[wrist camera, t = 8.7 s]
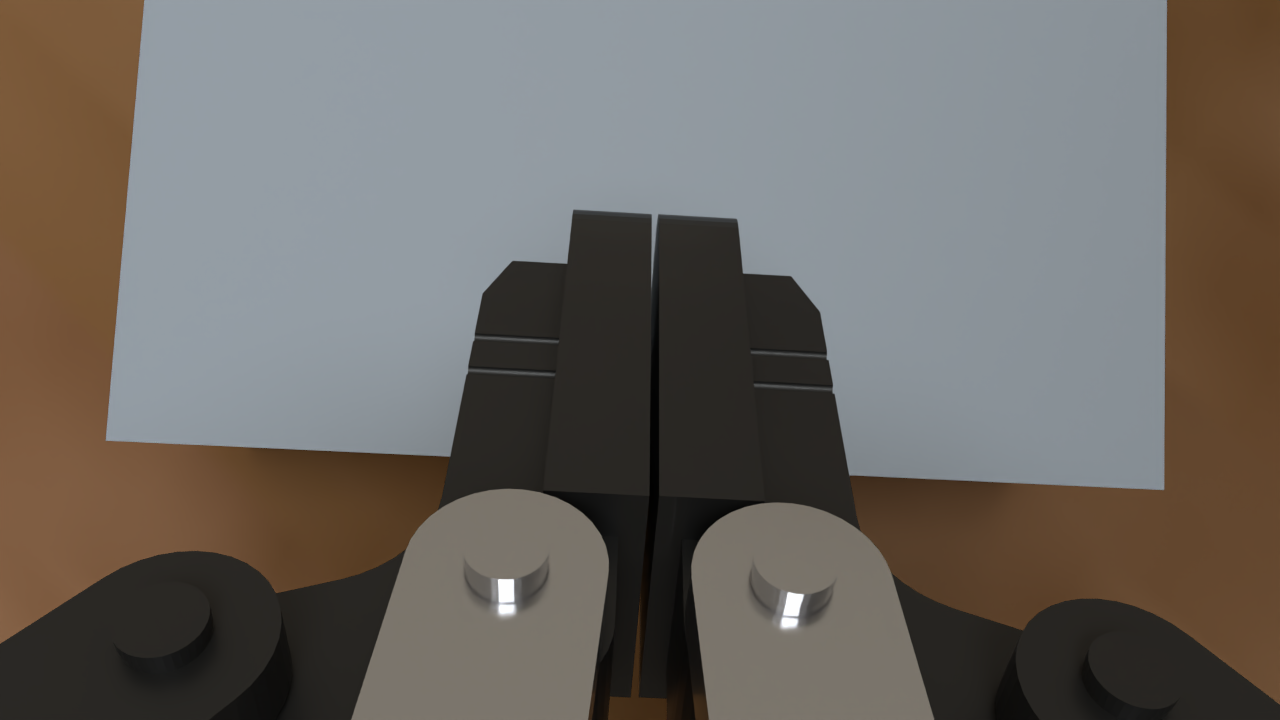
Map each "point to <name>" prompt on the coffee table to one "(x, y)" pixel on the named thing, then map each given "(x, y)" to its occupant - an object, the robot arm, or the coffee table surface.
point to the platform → (655, 210)
